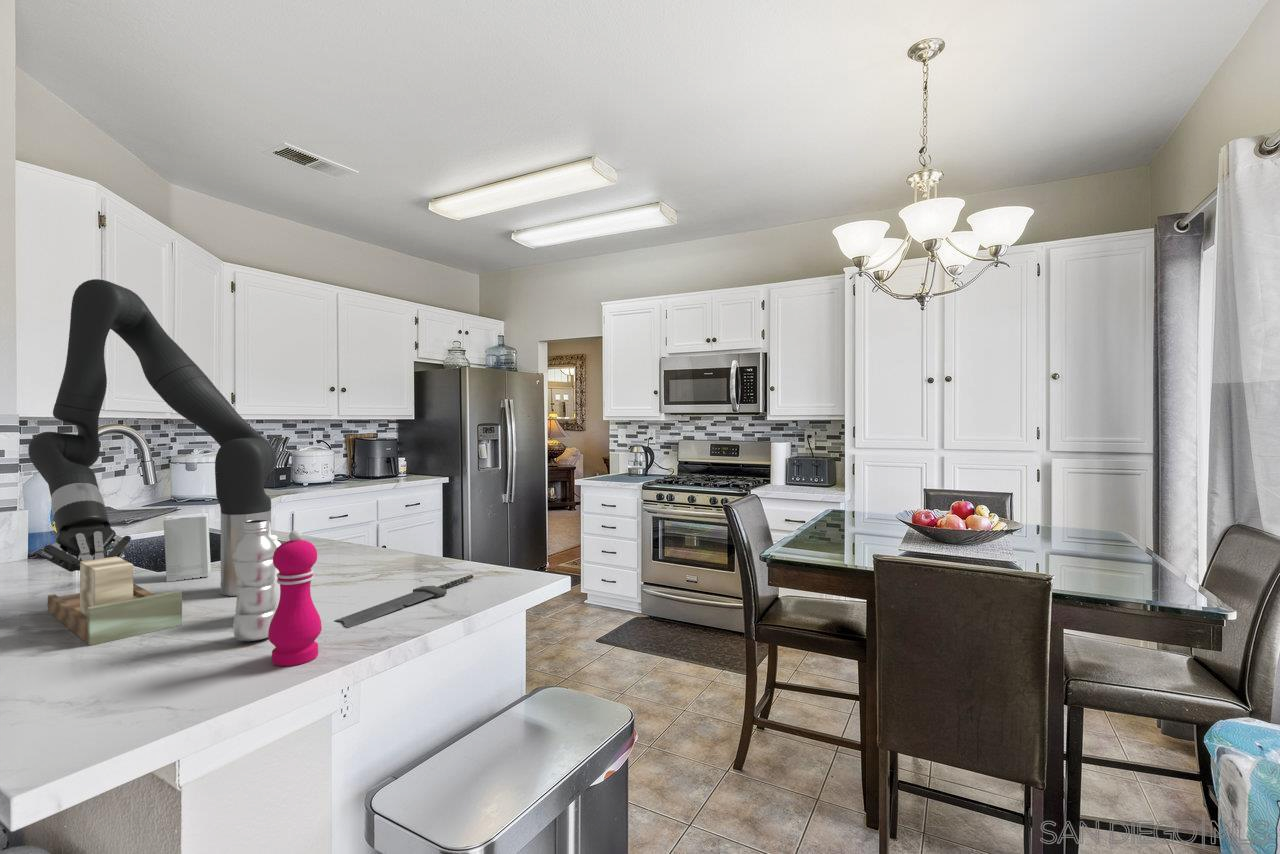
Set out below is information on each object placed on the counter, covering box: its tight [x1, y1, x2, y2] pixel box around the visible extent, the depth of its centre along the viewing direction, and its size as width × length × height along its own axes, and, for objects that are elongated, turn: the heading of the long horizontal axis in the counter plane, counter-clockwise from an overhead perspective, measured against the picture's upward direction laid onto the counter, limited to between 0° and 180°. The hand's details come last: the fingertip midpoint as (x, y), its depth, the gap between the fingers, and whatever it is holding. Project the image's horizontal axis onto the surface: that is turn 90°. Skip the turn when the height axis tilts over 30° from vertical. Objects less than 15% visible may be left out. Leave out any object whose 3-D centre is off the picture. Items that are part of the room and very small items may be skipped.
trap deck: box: [47, 582, 183, 646], centre depth 112 cm, size 30×12×6 cm, turn 54°
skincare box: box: [163, 512, 212, 583], centre depth 141 cm, size 8×6×15 cm
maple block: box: [79, 556, 134, 618], centre depth 105 cm, size 10×5×10 cm, turn 54°
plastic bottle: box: [232, 520, 277, 642], centre depth 101 cm, size 6×7×20 cm
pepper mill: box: [267, 529, 323, 667], centre depth 93 cm, size 7×7×20 cm
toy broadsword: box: [334, 574, 474, 629], centre depth 124 cm, size 7×35×2 cm, turn 153°
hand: (97, 584), depth 110 cm, fingers closed
